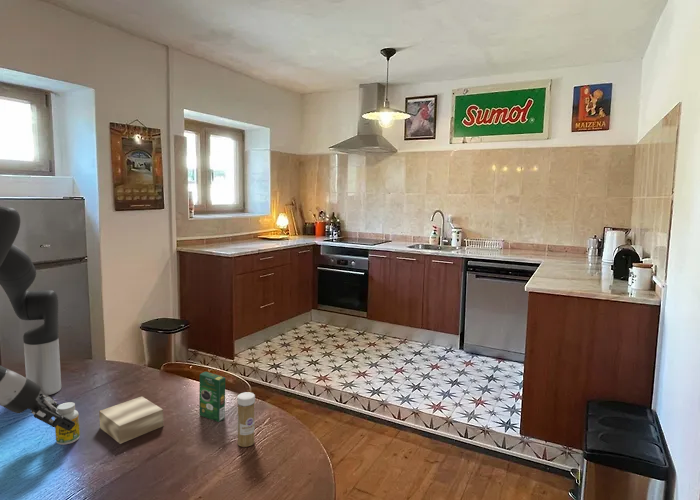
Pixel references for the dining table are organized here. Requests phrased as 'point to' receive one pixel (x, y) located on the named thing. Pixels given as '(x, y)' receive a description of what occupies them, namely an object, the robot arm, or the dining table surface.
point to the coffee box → (212, 396)
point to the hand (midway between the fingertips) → (69, 420)
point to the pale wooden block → (131, 419)
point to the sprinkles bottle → (245, 419)
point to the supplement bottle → (63, 434)
